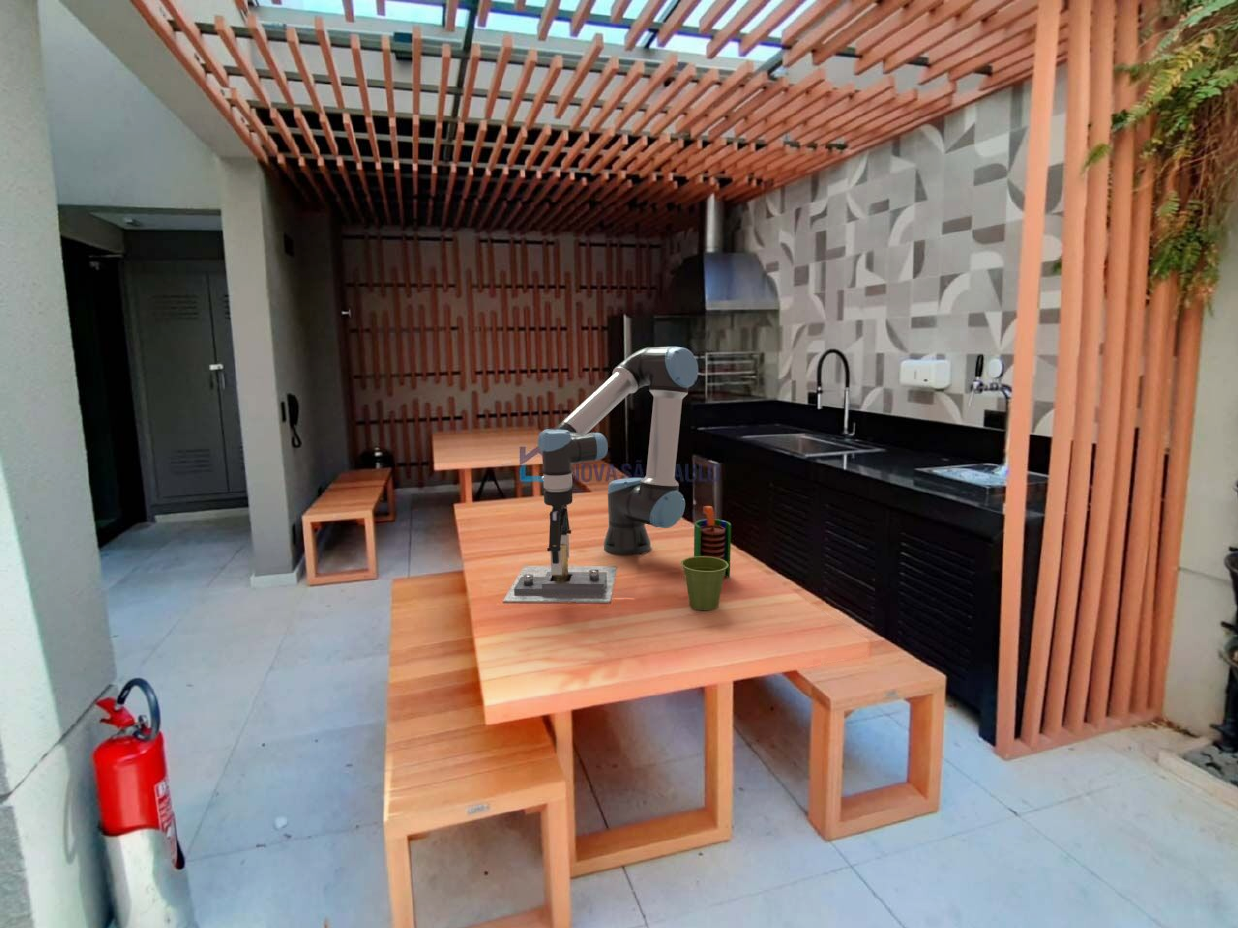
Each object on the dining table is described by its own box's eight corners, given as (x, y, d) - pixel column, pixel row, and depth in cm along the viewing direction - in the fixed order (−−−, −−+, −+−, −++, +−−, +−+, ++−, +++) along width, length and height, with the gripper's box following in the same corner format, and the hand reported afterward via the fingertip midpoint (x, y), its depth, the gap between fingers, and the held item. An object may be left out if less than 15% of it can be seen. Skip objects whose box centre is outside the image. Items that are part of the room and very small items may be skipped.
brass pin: (569, 585, 181) (568, 543, 179) (567, 590, 177) (566, 548, 175) (555, 585, 181) (553, 543, 179) (552, 590, 177) (551, 548, 175)
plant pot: (716, 618, 159) (717, 574, 157) (672, 609, 165) (672, 566, 163) (735, 602, 169) (735, 560, 167) (693, 593, 175) (693, 553, 173)
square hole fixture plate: (617, 567, 196) (617, 550, 195) (610, 603, 170) (609, 582, 169) (524, 567, 198) (523, 549, 197) (502, 602, 171) (501, 582, 170)
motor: (704, 584, 181) (705, 514, 178) (686, 575, 189) (686, 507, 185) (734, 578, 186) (735, 509, 182) (715, 568, 194) (716, 502, 190)
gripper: (551, 479, 187) (554, 550, 191) (534, 500, 162) (538, 581, 166) (577, 479, 186) (580, 551, 190) (565, 499, 162) (567, 582, 166)
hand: (560, 565), depth 178 cm, fingers open, 13 cm apart
